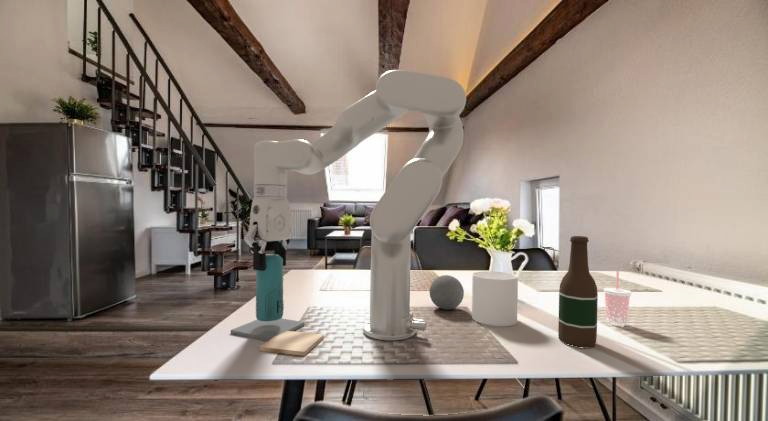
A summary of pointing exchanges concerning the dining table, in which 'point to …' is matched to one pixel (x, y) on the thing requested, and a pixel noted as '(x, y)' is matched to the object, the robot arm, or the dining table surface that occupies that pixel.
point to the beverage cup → (617, 303)
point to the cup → (494, 298)
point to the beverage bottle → (270, 287)
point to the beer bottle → (578, 299)
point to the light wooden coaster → (292, 343)
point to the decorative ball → (446, 292)
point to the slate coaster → (266, 328)
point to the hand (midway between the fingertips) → (270, 267)
